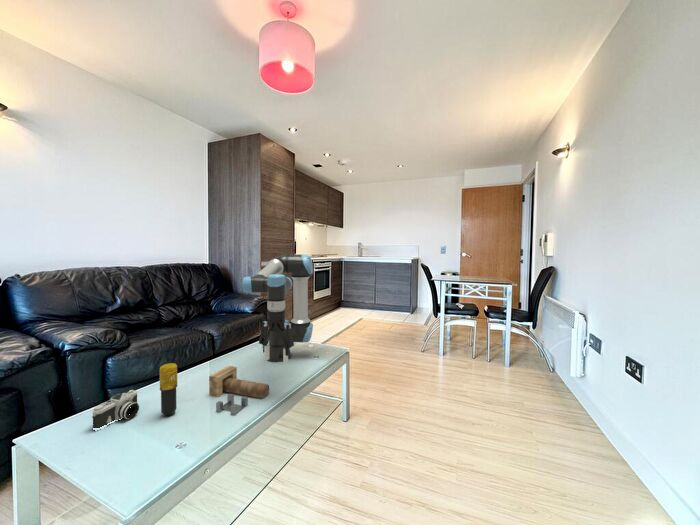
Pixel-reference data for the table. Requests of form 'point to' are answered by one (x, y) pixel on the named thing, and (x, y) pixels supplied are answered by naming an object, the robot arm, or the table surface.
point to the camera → (115, 409)
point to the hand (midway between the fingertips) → (276, 361)
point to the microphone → (168, 388)
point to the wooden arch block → (220, 380)
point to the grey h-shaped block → (231, 405)
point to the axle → (245, 387)
